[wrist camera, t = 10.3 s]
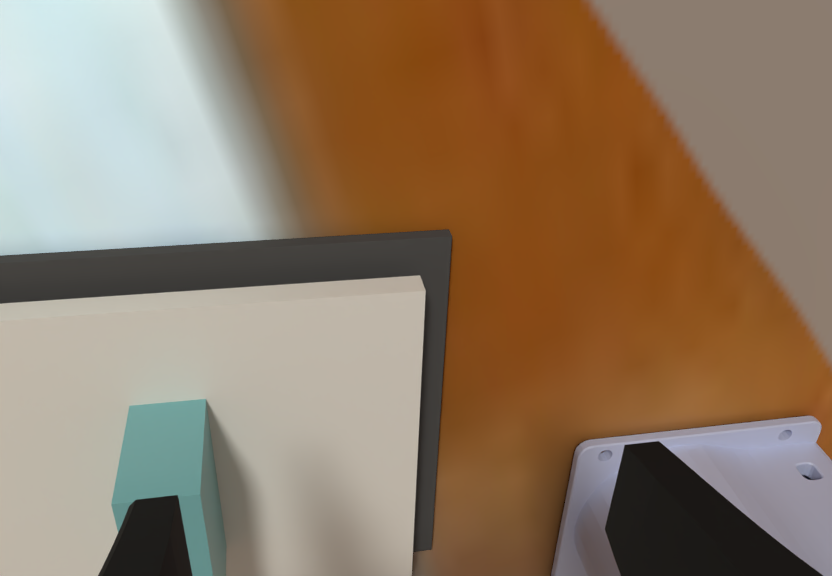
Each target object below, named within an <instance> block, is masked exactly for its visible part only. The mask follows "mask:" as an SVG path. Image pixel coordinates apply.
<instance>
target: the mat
mask: <svg viewBox="0 0 832 576" xmlns="http://www.w3.org/2000/svg"><path fill="white" fill-rule="evenodd" d="M451 244H452V235H451V233H450V231H449V230H433V231H416V232H399V233H382V234H365V235H348V236H331V237H314V238H296V239H279V240H262V241H245V242H228V243H211V244H194V245H176V246H159V247H142V248H125V249H108V250H91V251H74V252H57V253H39V254H22V255H5V256H0V304H2V303H17V302H31V301H46V300H61V299H76V298H91V297H106V296H121V295H135V294H150V293H165V292H180V291H195V290H210V289H225V288H239V287H254V286H269V285H284V284H299V283H314V282H329V281H343V280H358V279H373V278H388V277H403V276H418V275H420V277H421V279H422V282H423V285H424V288H425V290H426V295H425V315H424V336H423V356H422V376H421V397H420V417H419V437H418V458H417V478H416V499H415V519H414V539H413V552H417V551H424V550H431V547H432V532H433V517H434V502H435V487H436V471H437V456H438V441H439V426H440V411H441V396H442V380H443V365H444V350H445V335H446V320H447V305H448V289H449V274H450V259H451Z"/></svg>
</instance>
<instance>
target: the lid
mask: <svg viewBox="0 0 832 576" xmlns="http://www.w3.org/2000/svg"><path fill="white" fill-rule="evenodd" d="M425 295H426V290H425V288H424V285H423V282H422V279H421V277H420V275H418V276H403V277H388V278H373V279H358V280H343V281H329V282H314V283H299V284H284V285H269V286H254V287H239V288H225V289H210V290H195V291H180V292H165V293H150V294H135V295H121V296H106V297H91V298H76V299H61V300H46V301H31V302H17V303H2V304H0V576H98V575H99V573H100V571H101V569H102V567H103V565H104V562H105V560H106V558H107V556H108V554H109V552H110V550H111V548H112V546H113V543H114V541H115V539H116V537H117V534H118V532H119V530H120V528H121V525H122V523H123V520H124V518H125V515H126V513H127V510H128V508H129V506H130V505H131V504H132V503H133V502H134V501H135V500H137V499H146V498H155V497H164V496H173V495H178V498H179V504H180V509H181V515H182V520H183V526H184V532H185V537H186V543H187V548H188V554H189V559H190V565H191V570H192V576H412V560H413V539H414V519H415V499H416V478H417V458H418V437H419V417H420V397H421V376H422V356H423V336H424V315H425Z"/></svg>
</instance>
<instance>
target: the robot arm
mask: <svg viewBox="0 0 832 576" xmlns="http://www.w3.org/2000/svg"><path fill="white" fill-rule="evenodd" d="M821 427H822V426H821V424H820V422H819V421H818V420H817V419H816V418H815V417H813V416H801V417H792V418H783V419H774V420H765V421H756V422H747V423H738V424H729V425H720V426H710V427H701V428H692V429H683V430H674V431H665V432H656V433H647V434H638V435H629V436H619V437H610V438H601V439H592V440H587V441H584V442H582V443H580V444H579V446H578V447H577V448H576V450H575V453H574V458H573V463H572V468H571V474H570V479H569V484H568V489H567V494H566V500H565V505H564V510H563V515H562V520H561V526H560V531H559V536H558V541H557V546H556V552H555V557H554V562H553V567H552V572H551V576H832V460H831V459H830V458H829V457H828V456H827V455H826V453H825V452H824V451H823V450H822V449H821V448H820V447H819V446H818V444H817V443H816V441H817V439H818V436H819V434H820V431H821ZM605 450H606V451H605ZM602 451H604V452H603V453H601V452H602ZM98 576H192V570H191V565H190V559H189V554H188V548H187V543H186V537H185V532H184V526H183V520H182V515H181V509H180V504H179V498H178V495H173V496H164V497H155V498H146V499H137V500H135V501H134V502H133V503H132V504H131V505H130V506H129V508H128V510H127V513H126V515H125V518H124V520H123V523H122V525H121V528H120V530H119V532H118V534H117V537H116V539H115V541H114V543H113V546H112V548H111V550H110V552H109V554H108V556H107V558H106V560H105V562H104V565H103V567H102V569H101V571H100V573H99V575H98Z"/></svg>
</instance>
